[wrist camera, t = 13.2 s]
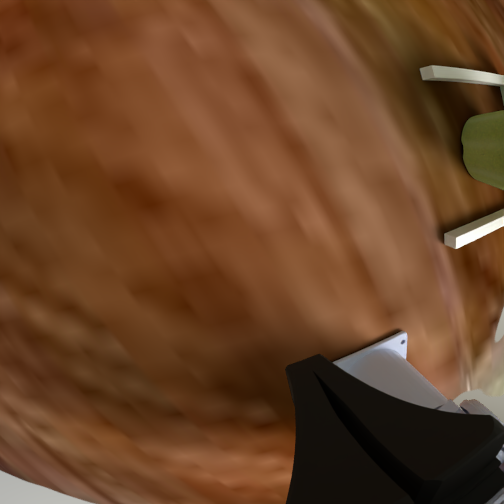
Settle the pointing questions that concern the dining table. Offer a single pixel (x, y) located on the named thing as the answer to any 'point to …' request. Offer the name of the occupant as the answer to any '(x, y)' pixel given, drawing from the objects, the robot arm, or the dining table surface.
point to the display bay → (443, 73)
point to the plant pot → (485, 148)
